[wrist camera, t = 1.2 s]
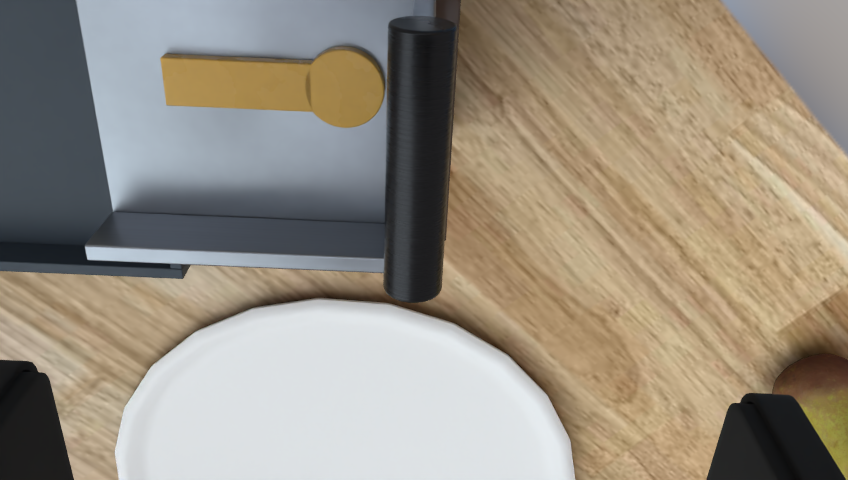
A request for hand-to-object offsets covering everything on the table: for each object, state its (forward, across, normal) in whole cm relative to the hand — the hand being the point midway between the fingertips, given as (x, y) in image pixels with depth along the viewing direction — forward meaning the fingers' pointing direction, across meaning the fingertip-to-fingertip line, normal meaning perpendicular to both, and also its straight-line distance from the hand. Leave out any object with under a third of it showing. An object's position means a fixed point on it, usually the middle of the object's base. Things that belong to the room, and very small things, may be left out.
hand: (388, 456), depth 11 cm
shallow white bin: (+17, +5, 0) cm, 18 cm away
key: (+16, +5, 0) cm, 17 cm away
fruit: (+28, -23, +20) cm, 41 cm away
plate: (+28, +4, +30) cm, 41 cm away
